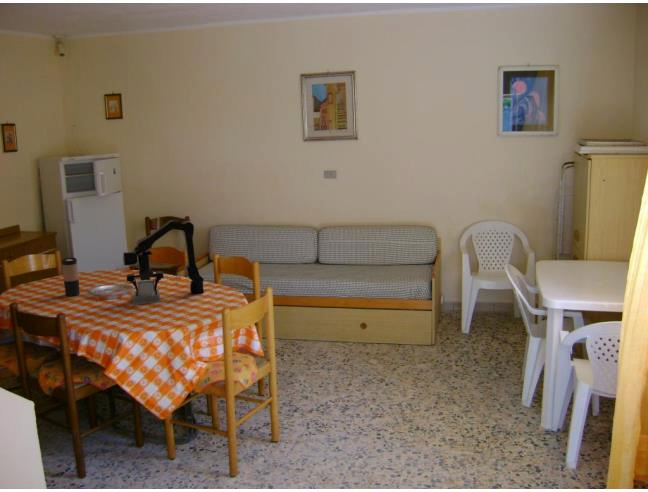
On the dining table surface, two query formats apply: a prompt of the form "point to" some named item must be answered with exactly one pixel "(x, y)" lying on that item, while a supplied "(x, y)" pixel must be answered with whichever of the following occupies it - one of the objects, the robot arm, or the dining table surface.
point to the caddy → (146, 298)
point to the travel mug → (70, 276)
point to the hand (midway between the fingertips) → (146, 291)
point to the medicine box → (146, 288)
